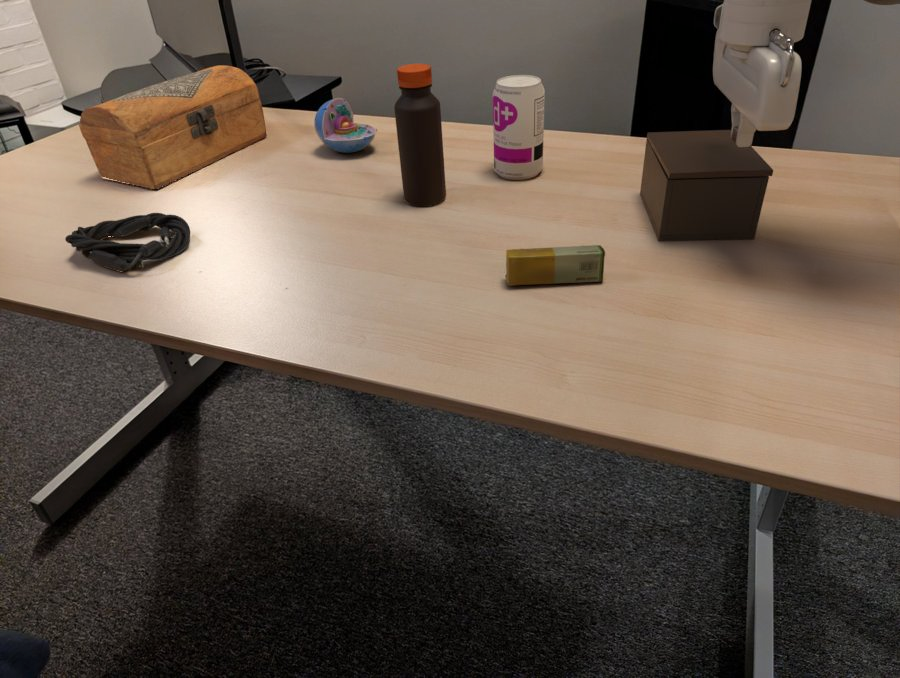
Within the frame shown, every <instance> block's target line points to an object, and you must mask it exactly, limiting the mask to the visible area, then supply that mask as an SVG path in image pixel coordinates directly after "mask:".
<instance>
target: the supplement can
mask: <svg viewBox="0 0 900 678" xmlns="http://www.w3.org/2000/svg"><path fill="white" fill-rule="evenodd" d="M545 96H546V90H545V87H544V84H543V83H542V79H541V78H540V77H539V76H536V75H529V74H513V75H507V76H502V77H500V78H498V79H497V80H496V84H495V86H494V88H493V90H492V118H493V119H492V125H493V127H492V128H493V132H492V133H493V170H494V172H495V173H497V175H498V176H499V177H501V178H503V179H507V180H512V181H523V180H529V179H532V178H534V177H536V176H538V175H539V173H540V172H541V171H543V167H544V132H545V131H544V130H545V101H546V100H545V98H546V97H545Z"/></svg>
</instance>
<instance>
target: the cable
mask: <svg viewBox="0 0 900 678" xmlns="http://www.w3.org/2000/svg"><path fill="white" fill-rule="evenodd" d="M155 227H157V228H159V232H158V233H159V236H160V240H161V241H159V240H155V239H154V240H151V241H149V242H146V243H125V242H123V243H122V242H117V241H113V240H106V239H107V238H106V237H108V236H111V238H113V237H112V236H115V237H117V238H121V237H126V236H129V235H132V234H133V233H135V232H137V231H145V232H146V231H149V230H152V229H153V228H155ZM171 231H172V232H174V233H175V235H173V236H172V235H171ZM190 238H191V229H190V226H189V223H188V222H187V221H186V220H185V219H184V218H183V217H181V216H179V215H176V214H165V213H161V212H151V213H147V214H139V215H133V216H128V217H125V218H121V219H117V220H103V221H101V222H100V221H99V222H98V223H96V224H95V225H90V226H86V227H82V226H78V227H77V230H73V231H72V232H71V234H68V235H66V237H65V238H64V239H65V242H66V243H68V244H70V246H71V247H72V248H75V250H76V252H81V254H82V255H83V257H85V258H86V259H87V260H90V261H92V262H93V263H94V264H96V265H98V266H101V267H103V268H106V267H107V269H110V270H113V269H114V270H113V271H117V270H118V271H117V272H120V271H123V272H125V271H126V270H130V269H135V268H134V267H143V268H144V267H145V266H144V261H145V262H146V261H158V260H163V259H164V258H170V257H174V256H176V255H178V254H180V253H182V252H183V251H184V250H185V249H186V248H187V246H188V244H189V243H190ZM101 239H102V240H101ZM132 267H133V268H132ZM124 270H125V271H124Z"/></svg>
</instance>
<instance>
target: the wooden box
mask: <svg viewBox="0 0 900 678" xmlns="http://www.w3.org/2000/svg"><path fill="white" fill-rule="evenodd" d="M78 127H79V130H80V133H81V135H82V138H83V139H84V140H85V142H86V145H87V147H88V150H89V152H90V155H91V157H92V160H93V162H94V164H95V167H96V169H97V171H98V173H99V175H100V177H101V176H102V177H106V178H109V179H113V180H117V181H120V182H125V183H129V184H134V185H137V186H136V187H138V186H142V187H141V188H143V187H146V188H145V189H147V188H150V189H149V190H152V189H158V188H160V187H162V186H165V185H167V184H168V185H170V184H172V183H174V182H176V181H178V180H181V179H182V178H185V177H187V176H188V174H189V175H190V173H191V174H193V173H195V172H197V171H199V170H201V169H202V168H205V167H207V166H209V165H211V164H213V163H215V162H217V161H219V160H221V159H223V158H225V157H227V156H229V155H231V154H233V153H236V152H238V151H240V150H241V149H244V148H246V147H248V146H250V145H253V144H254V143H256V142H259V141H260V140H262V139H264V138H266V137H267V135H268V134H267V126H266V121H265V115H264V109H263V105H262V101H261V99H260V93H259V89H258V86H257V84H256V83H255V81H254V80H253V78H251V76H250V75H249V74H248V73H246V72H245V71H244V70H243V69H241V68H238V67H235V66H233V65H232V66H231V65H226V64H225V65H224V64H222V65H214V66H210V67H207V68H203V69H202V70H198V71H195V72H192V73H188V74H185V75H181V76H178V77H173V78H171V79H167V80H165V81H161V82H159V83H155V84H152V85H149V86H147V87H143V88H140V89H137V90H134V91H131V92H128V93H126V94H124V95H121V96H119V97H117V98H116V97H115V98H113V99H110V100H108V101H105V102H103V103H100V104H96V105H94V106H90V107H87V108H84V110H83V111H82V112H81V114H80V118H79V123H78ZM192 172H193V173H192ZM102 177H101V178H102ZM181 177H182V178H181ZM177 179H178V180H177ZM175 180H176V181H175ZM173 181H174V182H173ZM171 182H172V183H171ZM169 183H170V184H169ZM134 185H133V186H134ZM168 185H167V186H168ZM165 187H166V186H165ZM158 190H159V189H158Z"/></svg>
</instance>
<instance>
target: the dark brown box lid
mask: <svg viewBox="0 0 900 678" xmlns="http://www.w3.org/2000/svg"><path fill="white" fill-rule="evenodd" d="M731 130H732V129H713V130H712V129H711V130H685V131H683V130H682V131H681V130H680V131H655V132H654V131H653V132H649V131H648V132H647V133H646V140H647V139H648V141H649V142H650V144H651V146H652V148H653V150H654V152H655V153H656V155H657V157H658V159H659V161H660V163H661V164H662V166H663V168H664V170H665V172H666V174H667V175H668V177H669V179H680V178H718V177H756V176H769V177H772V176H773V175H774V169H773V168H772V166H770V165H769V164H768V163H767V162H766V160H765V159H764V158H763V157H762V156H761V155H760V154H759V153H758V151H756V149H755V148H754V147H753V146H752V144H751V145H750V146H749V147H738V146H737V145H736V144H735V142H734V141H733V140H732V139H731V137H730V135H731Z"/></svg>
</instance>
